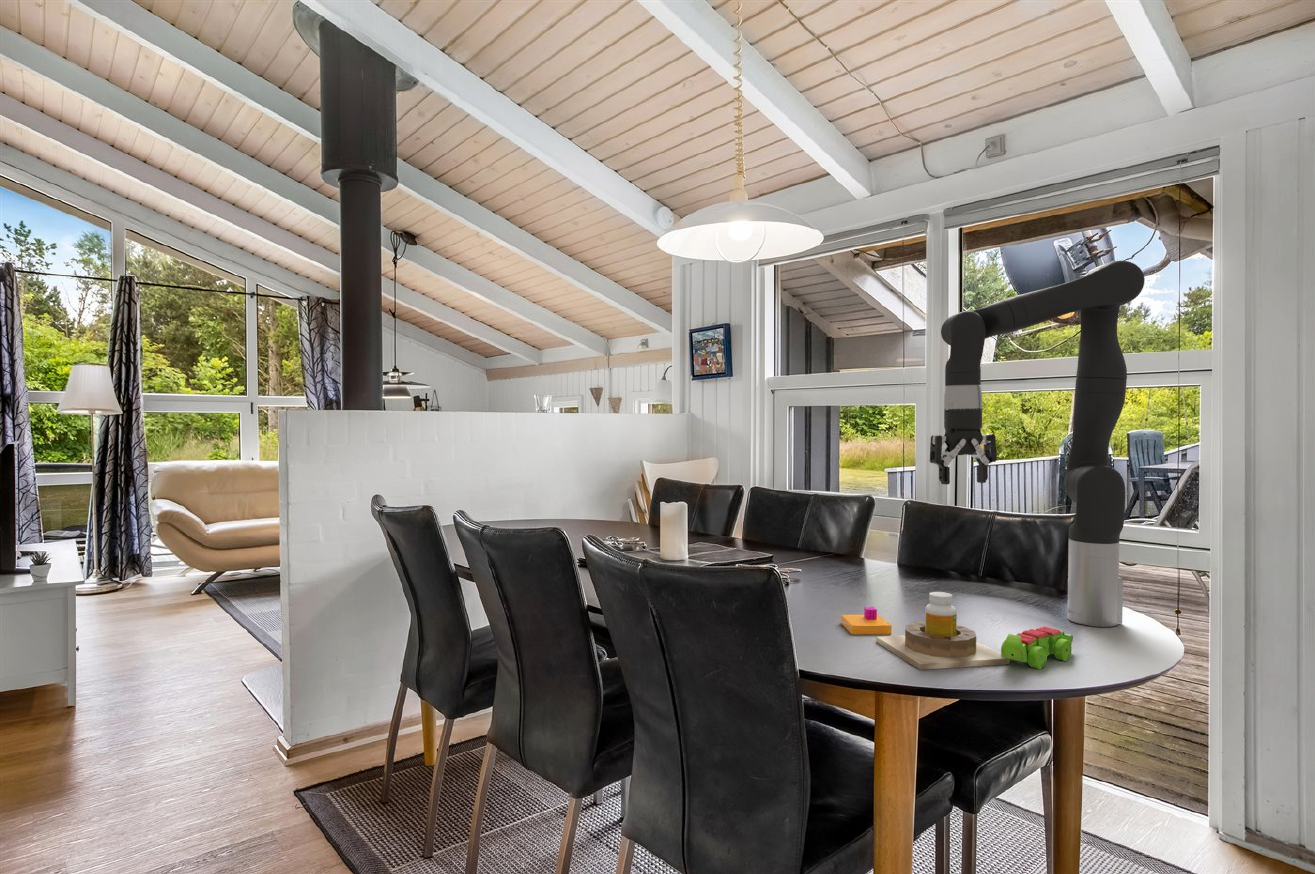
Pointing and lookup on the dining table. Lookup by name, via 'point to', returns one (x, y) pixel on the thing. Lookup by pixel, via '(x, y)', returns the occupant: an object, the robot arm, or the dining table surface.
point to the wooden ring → (940, 642)
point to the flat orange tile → (866, 623)
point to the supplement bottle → (940, 615)
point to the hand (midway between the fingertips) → (963, 483)
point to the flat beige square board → (932, 662)
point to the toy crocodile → (1037, 646)
